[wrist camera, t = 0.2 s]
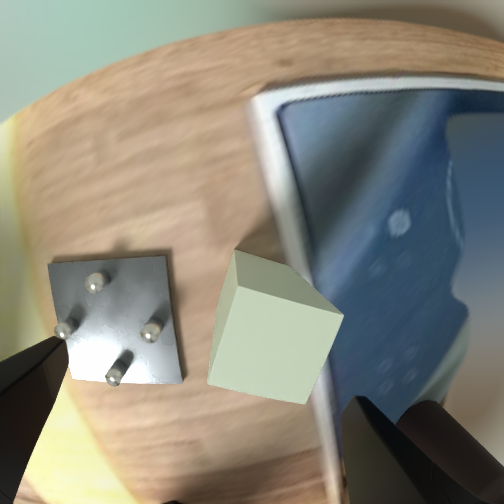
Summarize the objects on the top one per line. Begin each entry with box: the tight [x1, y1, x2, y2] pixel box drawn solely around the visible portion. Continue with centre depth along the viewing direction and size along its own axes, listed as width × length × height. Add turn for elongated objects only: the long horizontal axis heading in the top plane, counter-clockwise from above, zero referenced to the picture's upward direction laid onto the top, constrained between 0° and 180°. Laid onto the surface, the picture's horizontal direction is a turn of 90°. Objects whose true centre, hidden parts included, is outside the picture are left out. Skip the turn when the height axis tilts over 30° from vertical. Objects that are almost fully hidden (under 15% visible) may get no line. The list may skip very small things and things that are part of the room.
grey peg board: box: [48, 255, 183, 386], centre depth 22 cm, size 11×11×3 cm
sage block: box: [207, 249, 344, 404], centre depth 18 cm, size 4×4×12 cm
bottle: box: [396, 401, 504, 504], centre depth 17 cm, size 7×7×20 cm
